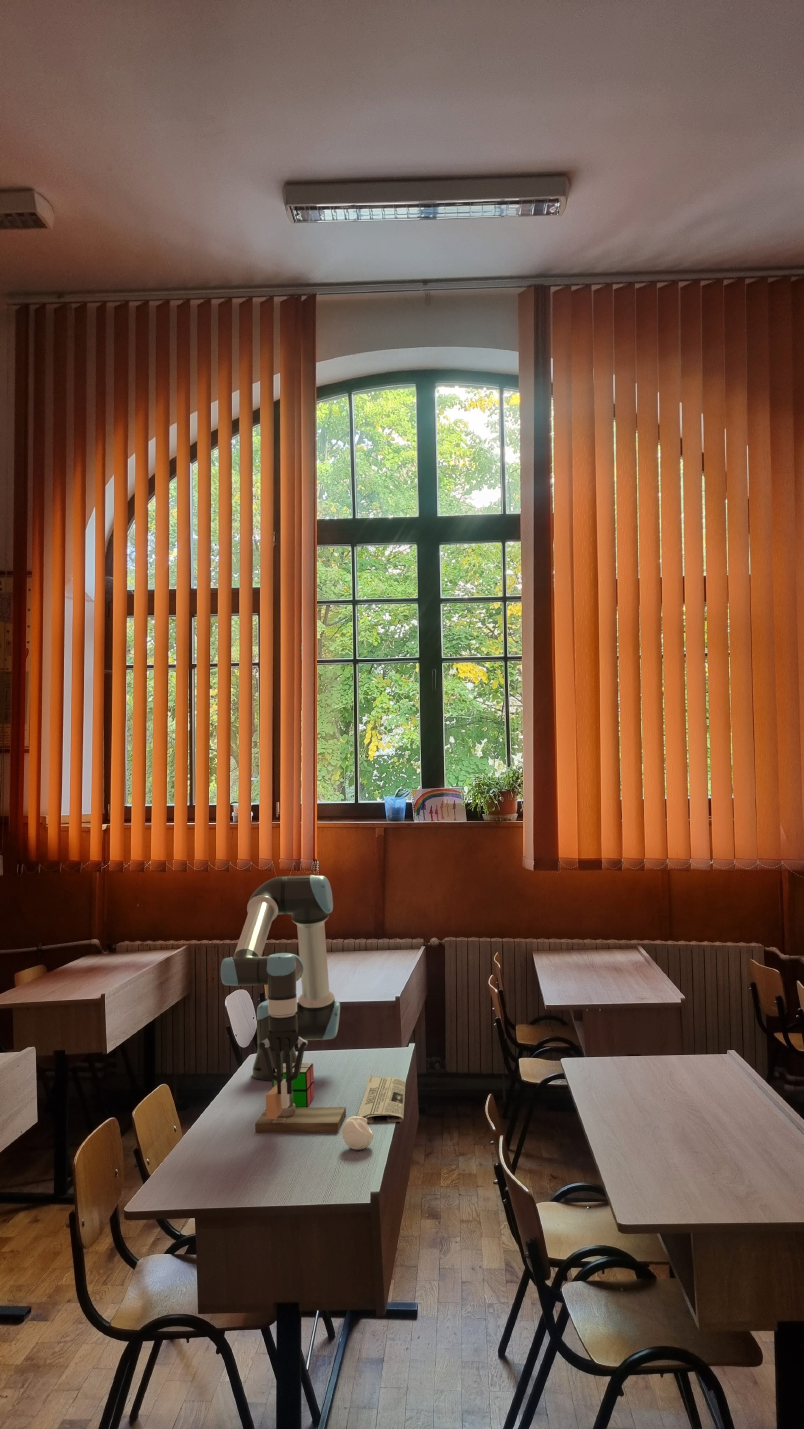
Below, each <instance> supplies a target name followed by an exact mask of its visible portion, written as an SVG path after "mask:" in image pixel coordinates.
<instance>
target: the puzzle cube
mask: <svg viewBox="0 0 804 1429" xmlns="http://www.w3.org/2000/svg"><path fill="white" fill-rule="evenodd" d="M292 1064H293V1073H294V1068H295V1063H292ZM283 1076H284V1078H283V1079H286V1063H284V1064H283ZM314 1078H315V1075H314V1063H313V1062H308V1063H307V1062H304V1063H303V1062H302V1065H301V1070H300V1075H299V1077H298V1078H297V1079H294V1080H293V1103H294V1104H295V1107H309V1106H310V1104H311V1103H312V1102H313V1100H314V1098H315V1083H314V1082H315V1081H314ZM275 1081H276V1080H274V1079H273V1080H271V1082H272V1083H271V1084H272V1088H273V1087H274V1082H275Z"/></svg>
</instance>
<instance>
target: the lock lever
mask: <svg viewBox="0 0 804 1429" xmlns="http://www.w3.org/2000/svg"><path fill="white" fill-rule="evenodd" d="M283 1080H286V1079H283ZM289 1101H290V1105H289V1106H292V1105H293V1092H292V1093H291V1094H289ZM265 1106H266V1107H265V1108H266V1119H276V1118H277V1117H278V1116H279V1115H280V1113H281V1112H282V1111H283V1110H284V1109H285V1108H282V1103H281V1094H278V1092H277V1081H275V1082H274V1087H273V1086H272V1088H271V1090H269V1091H268V1092H267V1093H266V1094H265ZM289 1106H288V1107H289Z"/></svg>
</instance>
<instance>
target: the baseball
mask: <svg viewBox="0 0 804 1429" xmlns="http://www.w3.org/2000/svg"><path fill="white" fill-rule="evenodd" d="M341 1130H342V1131H341V1133H342V1139H343V1141H344V1143H345V1145H346V1146H347V1147H348V1148H349V1149H352V1150H355V1151H357V1150H364V1149H366V1148H368V1147H369V1146H370V1145H371V1144H372V1141H373V1139H374V1134H373V1132H372V1129H371V1128H370V1126H369V1125H368V1123H367V1119H365V1117H364V1116H363V1117H358V1116H356V1115H354V1116H350V1117H348V1118H346V1120H345V1121H344V1122H343V1125H342V1129H341Z"/></svg>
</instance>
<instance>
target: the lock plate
mask: <svg viewBox="0 0 804 1429" xmlns="http://www.w3.org/2000/svg"><path fill="white" fill-rule="evenodd" d="M346 1108H347V1107H346V1106H328V1107H327V1106H319V1107H318V1106H316V1107H315V1106H313V1107H312V1106H311V1107H309V1106H308V1107H295V1104H294V1103H293V1105H292V1106H289V1107H288V1108H285V1109H284V1110H283V1111H282V1112H281V1113H280V1115H279V1116H278V1117H277V1118H276V1119H266V1109H264V1111H263V1112H262V1114H261V1115H260V1116H259V1117H258V1119H257V1120H256V1121H255V1122H254V1133H255V1134H264V1133H268V1134H272V1133H273V1134H275V1133H276V1134H278V1133H279V1134H280V1133H281V1134H282V1133H283V1134H287V1133H289V1134H290V1133H297V1134H299V1133H300V1134H301V1133H307V1134H308V1133H339V1132H340V1129H341V1127H342V1126H343V1124H344V1122H345V1118H346V1117H347V1112H346V1111H347V1110H346Z"/></svg>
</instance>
